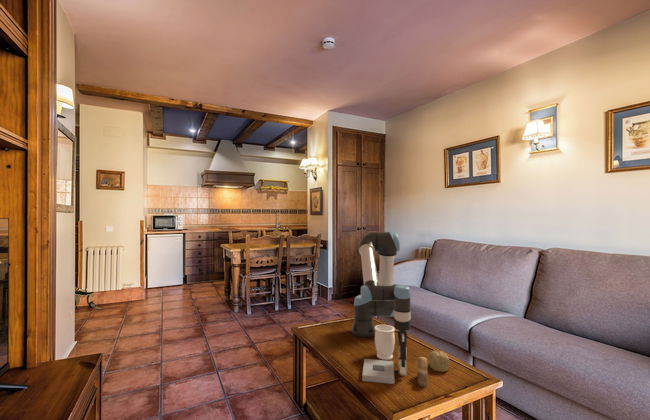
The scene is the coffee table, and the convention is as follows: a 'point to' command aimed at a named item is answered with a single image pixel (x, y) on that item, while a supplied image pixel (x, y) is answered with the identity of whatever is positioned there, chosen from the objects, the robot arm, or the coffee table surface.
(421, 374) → the walnut pin
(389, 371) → the hole plate
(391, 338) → the jar
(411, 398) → the coffee table surface
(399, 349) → the birch pin
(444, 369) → the decorative object
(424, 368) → the oak pin
